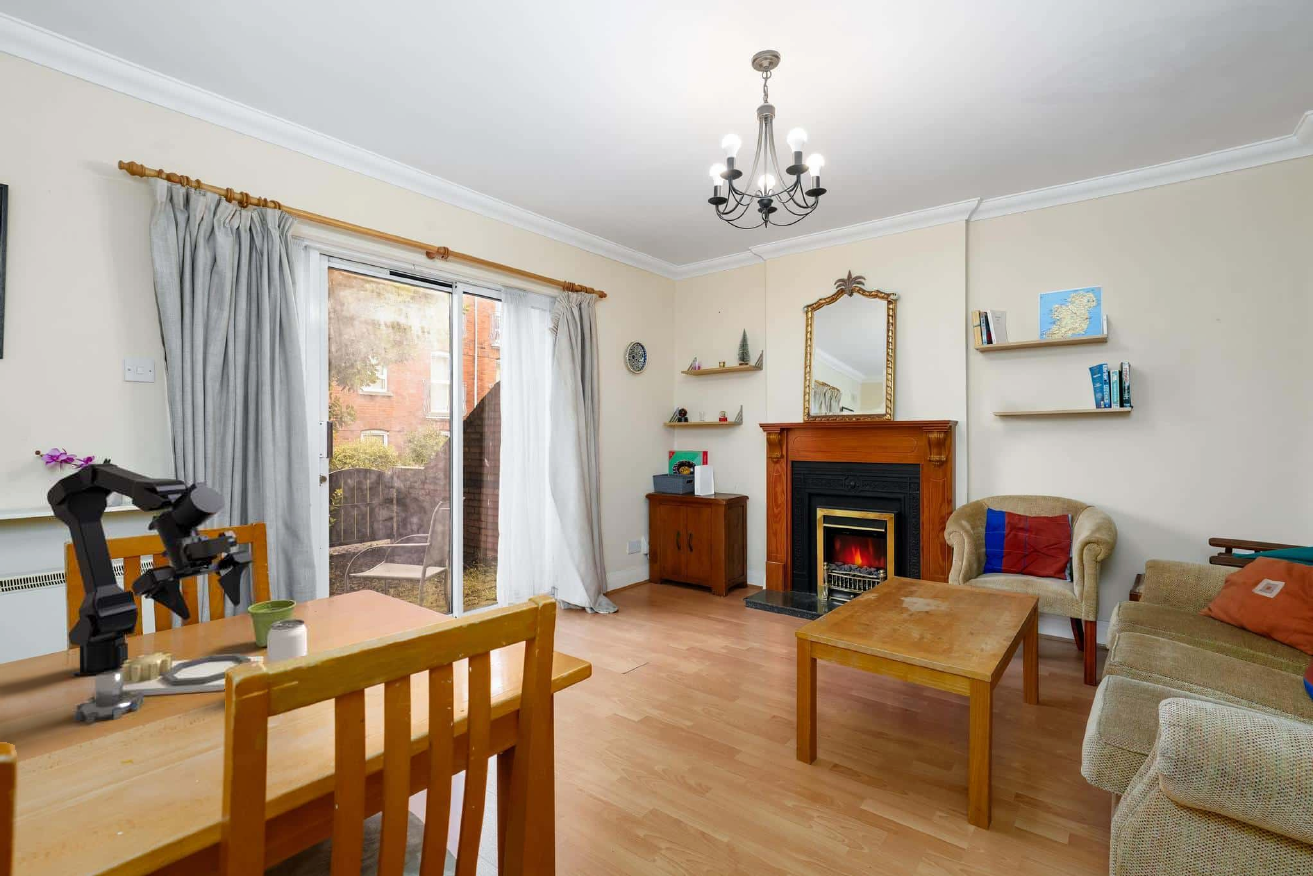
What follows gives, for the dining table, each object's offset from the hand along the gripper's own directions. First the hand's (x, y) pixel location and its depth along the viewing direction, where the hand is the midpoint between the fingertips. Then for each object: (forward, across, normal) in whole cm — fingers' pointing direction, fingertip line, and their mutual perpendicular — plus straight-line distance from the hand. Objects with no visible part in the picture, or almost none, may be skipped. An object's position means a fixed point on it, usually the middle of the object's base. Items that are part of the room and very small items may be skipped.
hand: (213, 611), depth 113 cm
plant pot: (+6, +23, +19) cm, 30 cm away
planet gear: (+8, -12, +16) cm, 21 cm away
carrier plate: (+7, +2, +17) cm, 18 cm away
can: (+19, +6, -1) cm, 20 cm away
